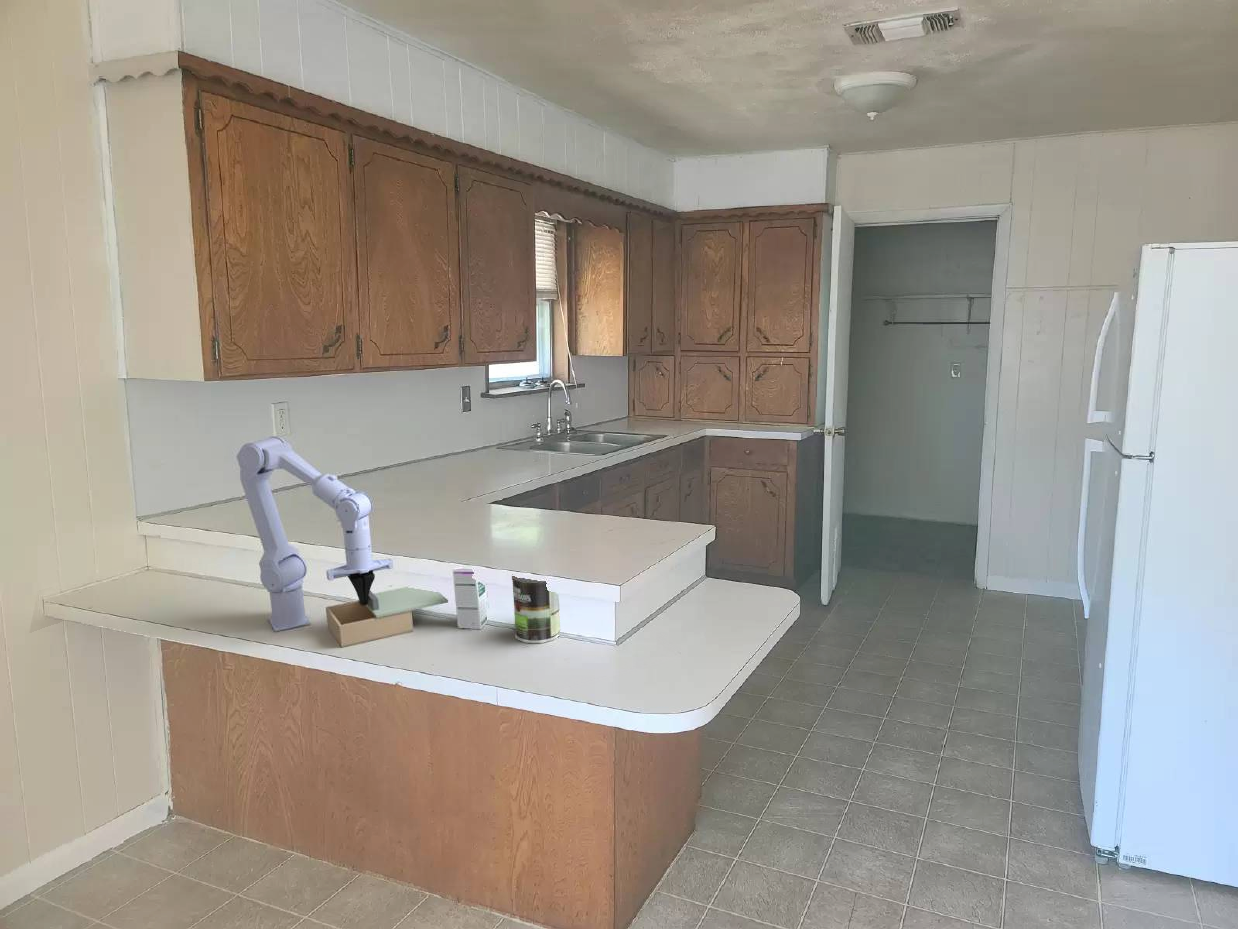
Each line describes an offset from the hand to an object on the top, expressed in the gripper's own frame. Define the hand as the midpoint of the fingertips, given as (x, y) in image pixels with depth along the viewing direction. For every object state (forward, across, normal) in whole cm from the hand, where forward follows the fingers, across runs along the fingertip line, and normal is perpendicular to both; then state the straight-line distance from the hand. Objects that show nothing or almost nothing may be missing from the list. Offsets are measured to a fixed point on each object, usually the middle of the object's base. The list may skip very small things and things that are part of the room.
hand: (363, 603), depth 200 cm
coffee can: (+7, +32, -25) cm, 41 cm away
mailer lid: (+1, +9, 0) cm, 9 cm away
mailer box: (+6, +1, 0) cm, 6 cm away
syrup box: (+7, +22, -11) cm, 25 cm away
